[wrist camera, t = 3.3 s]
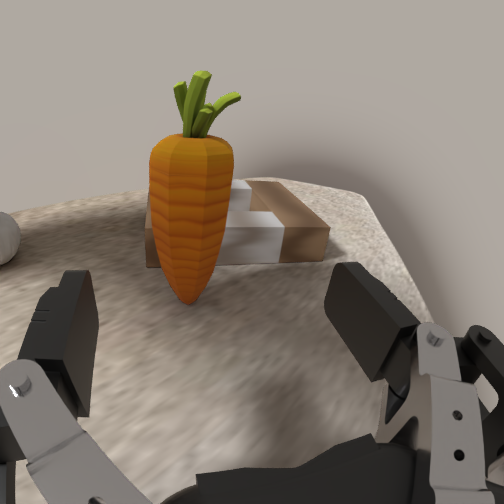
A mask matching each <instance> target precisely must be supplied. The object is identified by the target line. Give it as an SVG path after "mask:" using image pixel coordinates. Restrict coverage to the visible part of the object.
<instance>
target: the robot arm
mask: <svg viewBox="0 0 504 504" xmlns="http://www.w3.org/2000/svg"><path fill="white" fill-rule="evenodd" d="M324 308H325V313H326V315H327V317H328V318H329V320H330V321H331V323H332V324H333V326H334V327H335V329H336V330H337V332H338V333H339V335H340V336H341V338H342V339H343V341H344V342H345V344H346V345H347V346H348V348H349V349H350V351H351V352H352V354H353V355H354V357H355V358H356V360H357V361H358V363H359V364H360V366H361V367H362V369H363V370H364V372H365V374H366V375H367V377H368V378H369V380H370V381H371V382H374V381H377V380H381V379H384V378H385V379H386V381H387V382H386V384H385V385H384V387H383V394H382V403H381V411H380V418H379V425H378V431H377V434H376V437H375V439H374V438H373V436H372V434H371V433H370V434H367V435H364V436H362V437H359V438H356V439H353V440H350V441H347V442H344V443H341V444H338V445H335V446H333V447H332V448H330V449H329V450H327V451H325V452H324V453H322V454H320V455H319V456H317V457H315V458H314V459H312V460H310V461H308V462H307V463H305V464H303V465H301V466H299V467H296V468H239V469H233V470H226V471H219V472H211V473H202V474H196V485H193V486H190V487H187V488H185V489H183V490H181V491H179V492H176V493H175V494H173V495H172V496H170V497H168V498H167V499H165V500H164V501H163V502H162V503H160V504H504V345H503V344H502V343H501V342H500V341H499V339H498V338H497V337H496V336H495V335H494V334H493V333H492V332H491V331H489V330H488V329H486V328H485V327H482V326H478V325H474V326H471V327H470V328H469V330H468V332H467V333H466V335H465V337H464V338H459V337H452V335H451V334H450V333H449V332H448V331H447V330H446V329H445V328H443V327H442V326H440V325H438V324H435V323H430V322H425V323H422V324H421V323H420V321H419V320H418V319H417V318H416V317H415V316H414V315H413V314H412V313H411V312H410V311H409V310H408V309H407V308H406V306H405V305H404V304H403V303H402V302H401V301H400V300H397V297H396V296H395V295H394V294H393V293H391V292H390V290H389V289H388V288H387V287H386V286H385V285H384V284H383V283H382V282H381V281H379V280H378V279H376V278H375V277H373V276H372V275H371V274H370V273H369V272H368V271H367V270H366V269H365V268H364V267H363V266H362V265H361V264H360V263H358V262H342V263H337V264H336V265H335V267H334V269H333V272H332V276H331V279H330V283H329V286H328V290H327V293H326V296H325V301H324ZM98 330H99V319H98V311H97V306H96V301H95V296H94V291H93V285H92V280H91V275H90V272H89V270H70V271H65V272H64V274H63V277H62V279H61V282H60V284H59V287H50V288H49V289H48V290H47V291H46V292H45V293H44V294H43V295H42V296H41V297H40V299H39V302H38V304H37V307H36V309H35V312H34V314H33V316H32V319H31V322H30V324H29V327H28V330H27V332H26V335H25V338H24V341H23V343H22V346H21V349H20V352H19V355H18V358H17V360H15V361H12V362H10V363H8V364H6V365H5V366H4V367H3V368H2V369H1V370H0V504H15V469H16V461H18V460H24V459H27V461H28V464H27V465H26V467H27V470H28V472H29V474H30V476H31V478H32V479H33V481H34V483H35V484H36V486H37V488H38V489H39V491H40V492H41V494H42V495H43V497H44V498H45V500H46V501H47V503H48V504H153V503H152V502H150V501H149V500H148V499H147V498H146V497H145V496H144V495H143V494H142V493H141V492H140V491H139V490H138V489H137V488H136V487H135V486H134V485H133V484H132V483H131V482H130V481H129V480H128V479H127V478H126V477H125V476H124V474H123V473H122V472H121V471H120V470H119V469H118V468H117V467H116V466H115V465H114V463H113V462H112V461H111V460H110V459H109V458H108V457H107V455H106V454H105V453H104V452H103V451H102V450H101V448H100V447H99V446H98V445H97V443H96V442H95V441H94V440H93V439H92V437H91V436H90V435H89V434H88V433H87V432H86V431H84V430H83V429H82V428H81V426H80V425H79V424H78V422H77V417H89V413H90V399H91V387H92V377H93V368H94V359H95V351H96V344H97V337H98ZM481 374H483V375H484V376H485V378H486V379H487V380H488V381H489V383H490V384H491V385H492V386H493V388H494V389H495V391H496V392H497V394H498V398H499V400H498V404H497V406H496V407H495V408H494V410H493V411H492V412H491V413H489V412H488V410H487V409H486V407H485V406H484V405H483V403H482V402H481V401H480V399H479V398H478V394H477V389H476V387H475V385H474V383H475V382H476V380H477V379H478V378H479V376H480V375H481ZM485 476H486V479H485Z"/></svg>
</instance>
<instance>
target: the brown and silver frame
mask: <svg viewBox="0 0 504 504" xmlns="http://www.w3.org/2000/svg"><path fill="white" fill-rule="evenodd" d="M330 228H331V227H330V226H328V225H327V224H326V223H325V222H324V221H323V220H322V219H321V218H319V217H318V216H317V215H316V214H315V213H314V212H313V211H312V210H310V209H309V208H308V207H307V206H306V205H305V204H304V203H303V202H301V201H300V200H299V199H298V198H297V197H296V196H294V195H293V194H292V193H291V192H290V191H289V190H287V189H286V188H285V187H284V186H283V185H282V184H280V183H279V182H269V181H246V180H232V185H231V193H230V201H229V207H228V214H227V220H226V227H225V232H224V236H223V240H222V244H221V248H220V251H219V255H218V258H217V261H216V264H215V265H236V264H263V263H288V262H312V261H323V257H324V253H325V249H326V244H327V240H328V236H329V232H330ZM145 249H146V267H161V264H160V260H159V256H158V252H157V249H156V244H155V239H154V234H153V229H152V222H151V208H150V185H149V193H148V202H147V211H146V220H145Z"/></svg>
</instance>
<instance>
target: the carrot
mask: <svg viewBox="0 0 504 504" xmlns="http://www.w3.org/2000/svg"><path fill="white" fill-rule="evenodd" d="M211 76H212V74H210V73H209V72H208V71H197V72H196V73H195V74H194V75H193V77H192V79H191V82H190V85H189V88H188V90H187V85H186V82H185V81H184V82H178V83H177V84H176V85H175V86H174V94H175V98H176V102H177V106H178V109H179V111H180V115H181V117H182V121H183V134H175V135H170V136H168V137H166V138H164V139H163V140H161V141H160V142H159V143H158V144H157V145H156V146H155V147H154V148H153V150H152V152H151V155H150V162H149V178H150V179H149V183H150V208H151V222H152V229H153V234H154V239H155V244H156V249H157V252H158V256H159V260H160V264H161V267H162V270H163V272H164V274H165V276H166V278H167V280H168V282H169V285H170V286H171V288H172V289H173V291H174V292H175V293H176V295H177V296H178V298H179V299H180V300H181V301H182V302H184V303H185V304H187V305H189V304H191V303H193V302H194V301H196V300H197V298H198V297H199V295H200V294H201V293H202V291H203V290H204V289H205V287H206V285H207V283H208V281H209V279H210V277H211V275H212V273H213V271H214V268H215V264H216V261H217V258H218V255H219V251H220V248H221V244H222V240H223V236H224V232H225V227H226V220H227V214H228V207H229V201H230V193H231V185H232V177H233V169H234V158H233V150H232V147H231V146H230V145H229V144H228V142H227V141H225V140H224V139H222V138H219V137H215V136H211V135H207V133H208V130H209V128H210V126H211V124H212V123H213V121H214V119H215V118H216V117H217V116H218V114H220V113H221V112H222V111H223V110H224V109H225V108H226V107H227V106H229V105H231V104H233V103H235V102H238V101H240V99H241V96H240V95H239V93H237V92H233V93H229V94H226V95H224V96H222V97H220V99H218V100H217V101H216V102H215V104H214V105H213V106H212V105H211V103H208V104H205V105H204V102H205V97H206V90H207V87H208V84H209V81H210V79H211Z"/></svg>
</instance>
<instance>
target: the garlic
mask: <svg viewBox="0 0 504 504" xmlns="http://www.w3.org/2000/svg"><path fill="white" fill-rule="evenodd" d="M20 237H21V235H20V228H19V226H18V224H17V223H16V221H15V220H14V219H13V218H12V217H11V216H10V215H9V214H6V213H3V212H0V265H2V264H5V263H7V262H8V261H10V260H11V258H12V257H13V256H14V255H15V254H16V252H17V250H18V247H19V245H20V242H21V238H20Z"/></svg>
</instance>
